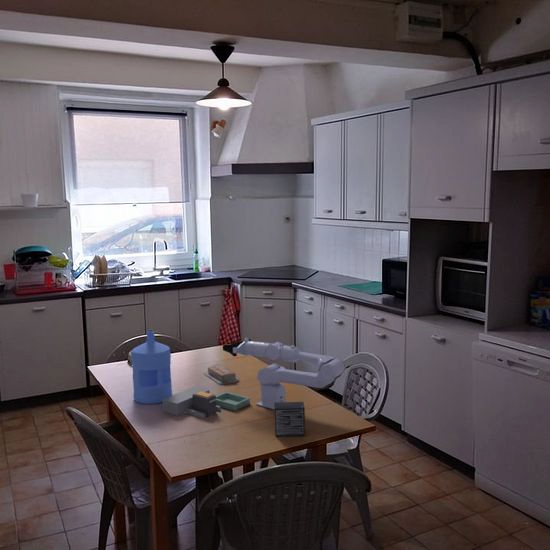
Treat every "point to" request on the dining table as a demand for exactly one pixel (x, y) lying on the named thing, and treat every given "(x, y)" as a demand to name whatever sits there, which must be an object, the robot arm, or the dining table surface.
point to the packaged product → (221, 374)
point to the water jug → (151, 371)
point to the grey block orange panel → (204, 403)
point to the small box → (289, 419)
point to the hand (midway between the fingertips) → (228, 346)
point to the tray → (232, 401)
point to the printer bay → (184, 403)
